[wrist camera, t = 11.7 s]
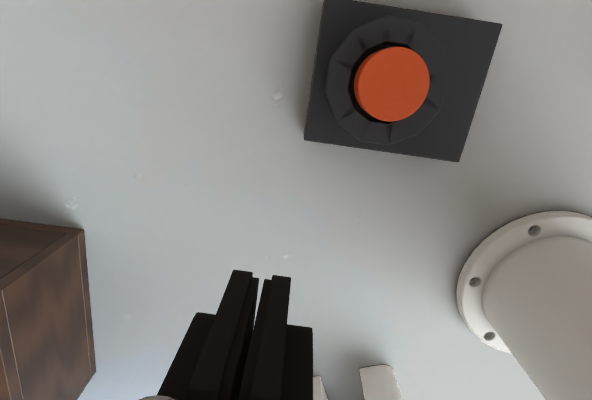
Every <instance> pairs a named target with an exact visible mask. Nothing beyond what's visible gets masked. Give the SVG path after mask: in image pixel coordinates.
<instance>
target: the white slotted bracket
mask: <svg viewBox="0 0 592 400" xmlns="http://www.w3.org/2000/svg"><path fill="white" fill-rule="evenodd" d="M359 371H360V376H361V382H362V387H363V393H364V398H365V400H403V399H402V396H401V393H400V389H399V386H398V382H397V379H396V376H395V372H394V370H393V369H392V368H391V367H389V366H387V365H377V366H371V367H366V368H360V369H359ZM313 400H328V399H327V396H326V393H325V390H324V387H323V383H322V380H321V377H320V376H316V377H313Z"/></svg>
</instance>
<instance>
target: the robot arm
mask: <svg viewBox="0 0 592 400" xmlns="http://www.w3.org/2000/svg"><path fill="white" fill-rule="evenodd" d="M252 275H253V273H252V272H247V271H240V270H233V272H232V275H231V277H230V280H229V282H228V285H227V288H226V290H225V293H224V295H223V298H222V301H221V303H220V306H219V308H218V311H217V313H216V315H214V314H206V313H199V312H198V313H196V315H195V316H194V318H193V320H192V322H191V324H190V327H189V329H188V331H187V333H186V335H185V337H184V339H183V341H182V343H181V346H180V348H179V350H178V352H177V354H176V356H175V358H174V360H173V362H172V365H171V367H170V369H169V371H168V373H167V375H166V377H165V379H164V381H163V383H162V386H161V388H160V390H159V392H158V394H157V395H156V396H149V397H145V398H142V399H140V400H313V333H312V328H310V327H302V326H295V325H287V316H288V305H289V294H290V283H291V277H283V276H276V275H273V276H272V280H268V279H265V280H264V284H263V289H262V293H261V298H260V302H259V307H258V311H257V316H256V320H255V325H254V319H255V310H256V301H257V292H258V284H259V278H253V277H252ZM456 291H457V304H458V308H459V311H460V314H461V316H462V318H463V319H464V321H465V323H466V325H467V326H468V328H469V329H470V330H471V331H472V333H473V334H474V335H475V336H476V337H477V338H478V339H479V340H480V341H482V342H483V343H485V344H487V345H489V346H491V347H492V348H494V349H497V350H501V351H504V352H507V353H512V354H513V356H514V357H515V358H516V360H517V361H518V363H519V364H520V365H521V367H522V368H523V369H524V371H525V372H526V373H527V375H528V376H529V378H530V379H531V380H532V382H533V383H534V384H535V386H536V387H537V388H538V390H539V391H540V393H541V394H542V395H543V397H544V398H545V399H546V400H592V217H589V216H586V215H583V214H581V213H575V212H568V211H547V212H542V213H537V214H532V215H528V216H525V217H523V218H520V219H517V220H514V221H512V222H510V223H508V224H507V225H505V226H503V227H501V228H499V229H498V230H496V231H495V232H494V233H492V234H491V235H490V236H488V237H487V238H486V239H485V240H483V241H482V243H481V244H480V245H479V246H478V247H477V248H476V249H475V250H474V251H473V252H472V254H471V255H470V257H469V258H468V260H467V261H466V263H465V264H464V267H463V269H462V271H461V274H460V276H459V280H458V285H457V290H456ZM253 328H254V330H253Z"/></svg>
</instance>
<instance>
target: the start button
mask: <svg viewBox="0 0 592 400" xmlns="http://www.w3.org/2000/svg"><path fill="white" fill-rule="evenodd" d="M429 82H430V79H429V71H428V68H427V66H426V64H425V62H424V60H423V59H422V58H421V57H420V56H419V55H418V54H417V53H416V52H414V51H413V50H411V49H408V48H404V47H390V48H386V49H382V50H379V51H376V52H374V53H372V54H371V55H369V56H368V57H367V58H366V59H365V60H364V61H363V62H362V63H361V65H360V66H359V68H358V70H357V72H356V74H355V78H354V94H355V97H356V100H357V102H358V104H359V105H360V106H361V108H362V109H363V110H364V111H366V112H367V113H368V114H370V115H371V116H373V117H375V118H376V119H379V120H382V121H389V122H391V121H399V120H402V119H404V118H407V117H408V116H410V115H412V114H413V113H414V112H415V111H416V110H417V109H418V108H419V107H420V106H421V105H422V103H423V102H424V100H425V98H426V96H427V93H428V90H429Z"/></svg>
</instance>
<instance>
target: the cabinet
mask: <svg viewBox="0 0 592 400" xmlns="http://www.w3.org/2000/svg"><path fill="white" fill-rule="evenodd" d="M95 372H96V366H95V354H94V342H93V331H92V319H91V307H90V296H89V284H88V273H87V261H86V249H85V238H84V230H81V229H73V228H66V227H58V226H51V225H43V224H36V223H29V222H21V221H14V220H6V219H0V400H77V398H78V397H79V395H80V394H81V392H82V391H83V389H84V388H85V387H86V385H87V384H88V382H89V381H90V379H91V378H92V376H93V375H94V374H95Z"/></svg>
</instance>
